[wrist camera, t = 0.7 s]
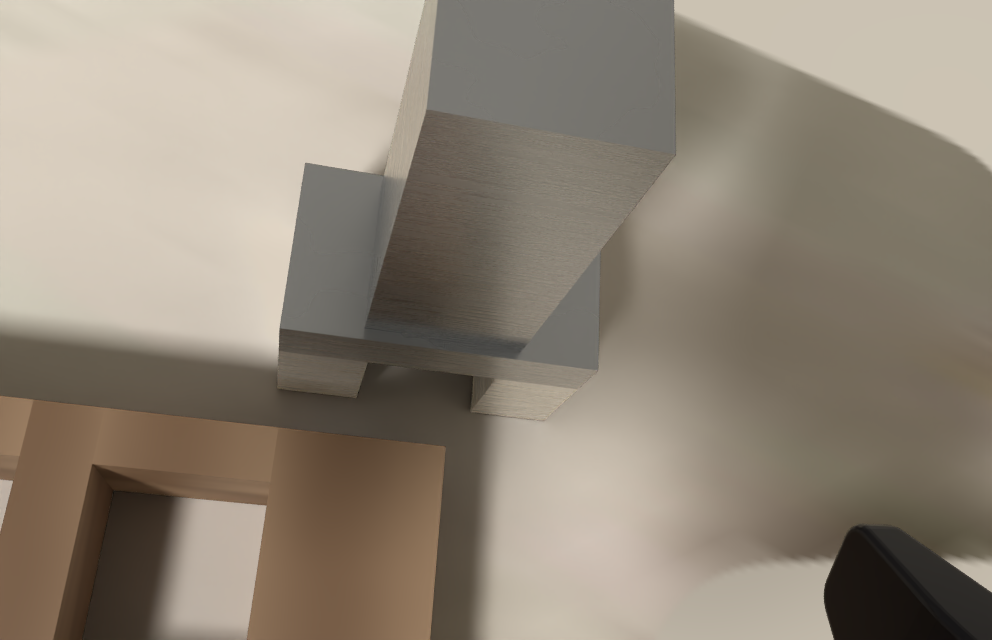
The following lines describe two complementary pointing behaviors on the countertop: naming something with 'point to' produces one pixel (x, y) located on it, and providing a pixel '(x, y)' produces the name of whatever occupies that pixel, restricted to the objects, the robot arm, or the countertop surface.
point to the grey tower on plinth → (486, 204)
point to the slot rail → (233, 478)
